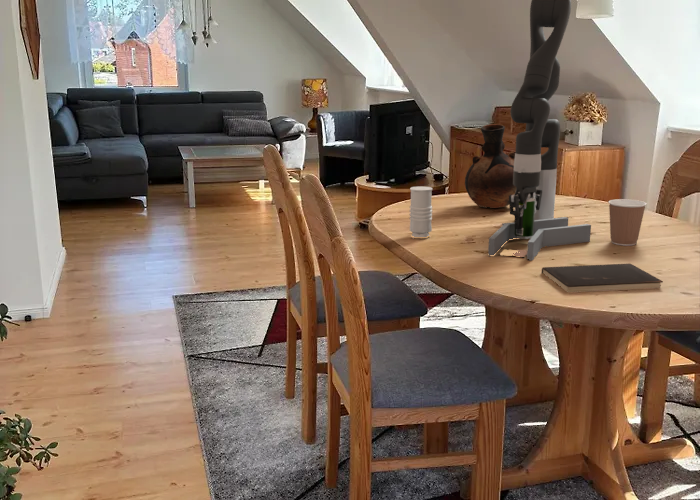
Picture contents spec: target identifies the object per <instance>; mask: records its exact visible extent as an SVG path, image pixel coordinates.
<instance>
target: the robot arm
mask: <svg viewBox="0 0 700 500" xmlns="http://www.w3.org/2000/svg"><path fill="white" fill-rule="evenodd" d="M571 11H572V0H531V1H530V6H529V32H530V33H529V36H530V52H529V60H528V62H527V65H526V70H525V75H524V79H523V82H522V85H521V86H520V88H519V90H518V92H517V94H516V96H515V97H514V99H513V102H512V103H511V107H510V111H509V112H510V117H511V119H512V121H513V122H514V123H516V124H525V131H521V132H519V133H517V134H516V137H515V152H514V153H515V159H514V173H513V185H514V186H516V192H515V194H514V195H509V205H508V206H509V214H510V215H512V216H514V222H515V224H514V226H515V229H522V225H523V217H522V216H523V213H524V209H526V207H527V200H528V199H529V198H530V197H535V198H534V199H535V213H534V220H541V219H551V218H554V216H555V204H556V187H557V172H558V169H557V167H558V154H559V153H558V152H559V144H560V137H561V136H560V134H561V123H560V121H559V120H558V119H556V118H549V117H550V112H551V107H550V103H549V101H550V100H551V98H552V97H553V96H554V94H555V93H556V91H557V90H558V88H559V85H560V77H561V76H560V75H561V73H560V72H561V66H560V65H561V64H560V62H559V59H558V58H557V54H558V52H559V49H560V46H561V45H562V41H563V38H564V35H565V32H566V29H567V26H568V23H569V20H570V17H571ZM544 28H553V30H552V32H551V33H550V35H549V36H548V38H547V39H546V36H545V33H544ZM542 148H545V149H546V148H548V149H547V151H545V152H544V153H542ZM519 202H521V203H523V202H524V204H523V205H522V206H521V205H519ZM519 208H521V210H520V212H519Z"/></svg>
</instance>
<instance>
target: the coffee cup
mask: <svg viewBox="0 0 700 500" xmlns="http://www.w3.org/2000/svg"><path fill="white" fill-rule="evenodd" d="M608 204H609V206H608V209H609V231H610V232H609V233H610V241H611V243H612V244H614V245H617V246H623V247H625V246H627V247H629V246H634V245H636V244H637V242H638V240H639V236H640V235H639V234H640V232H641V227H642V222H643V218H644V213H645V209H646V207H645V206H647V202H645V201H643V200H642V201H641V200H638V199H628V198H627V199H626V198H623V199H622V198H619V199H618V198H617V199H610V200H608Z"/></svg>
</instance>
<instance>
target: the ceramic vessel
mask: <svg viewBox="0 0 700 500" xmlns="http://www.w3.org/2000/svg"><path fill="white" fill-rule="evenodd" d="M505 128H506V127H505V125H503V124H499V123H497V124H496V123H492V124H491V123H489V124H486V125H485V124H484V125H483V126H482V127H481V128H480V131H481V133H482V136H483V142H484V143H483V144H482V149H481V150H482V151H483V152H484V154H483V155H481V156H479V155H474V156H473V157H472V164H471V166H470V167H469V168H468V170H467V171H466V174H465V178H464V186H465V189H466V193H467V194H468V197H469V198H470V200H471V201H472V202H473V203H474V204H475V205H476V206H478V207H479V206H480V207H479V208H487V207H490V209H497V208H498V209H499V208H500V209H501V208H505V207H508V206H509V195H514V194H515V192H516V186H514V185H513V173H514V159H515V152H514V151H510V152H509V153H508V154H506V153H505V152H504V150H505V147H506V146H505V145H506V144H505V143H504V141H503V138H504V137H503V136H504V133H505Z"/></svg>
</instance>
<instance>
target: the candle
mask: <svg viewBox="0 0 700 500" xmlns="http://www.w3.org/2000/svg"><path fill="white" fill-rule="evenodd" d="M409 190H410V206H409V217H408V218H409V231H410V232H412V233H411V235H412V236H414V237H427V236H429V235H430V233H431V232H432V231H433V229H432V220H433V206H432V193H433V192H432V191H433V187H431V186H418V185H417V186H411V187H410V188H409Z"/></svg>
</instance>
